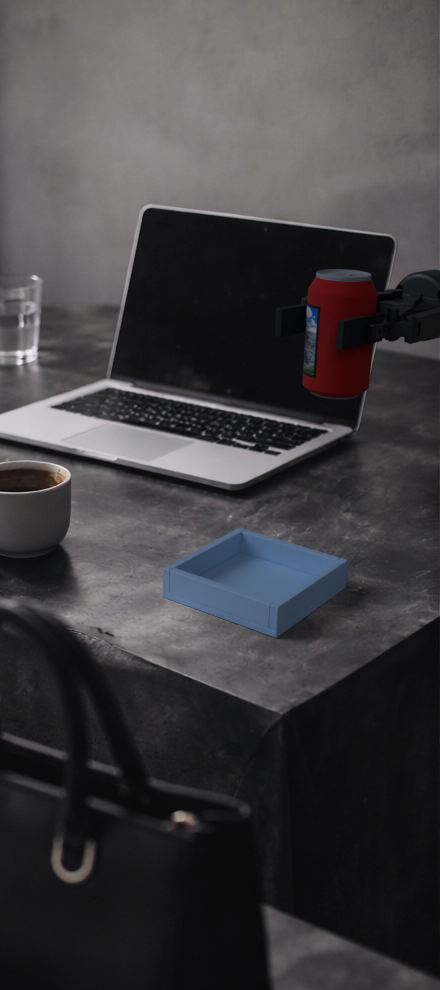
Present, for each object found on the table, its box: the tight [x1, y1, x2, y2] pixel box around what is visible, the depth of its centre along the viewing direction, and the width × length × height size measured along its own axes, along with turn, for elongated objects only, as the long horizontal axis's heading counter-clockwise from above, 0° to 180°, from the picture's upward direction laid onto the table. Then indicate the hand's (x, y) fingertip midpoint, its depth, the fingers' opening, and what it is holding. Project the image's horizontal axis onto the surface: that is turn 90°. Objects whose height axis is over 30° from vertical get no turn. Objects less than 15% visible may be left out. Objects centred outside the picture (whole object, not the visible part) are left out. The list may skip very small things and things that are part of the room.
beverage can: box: [302, 268, 378, 400], centre depth 97 cm, size 7×7×12 cm
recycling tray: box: [162, 527, 349, 639], centre depth 80 cm, size 11×11×3 cm
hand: (308, 328), depth 93 cm, fingers closed on beverage can, 7 cm apart
